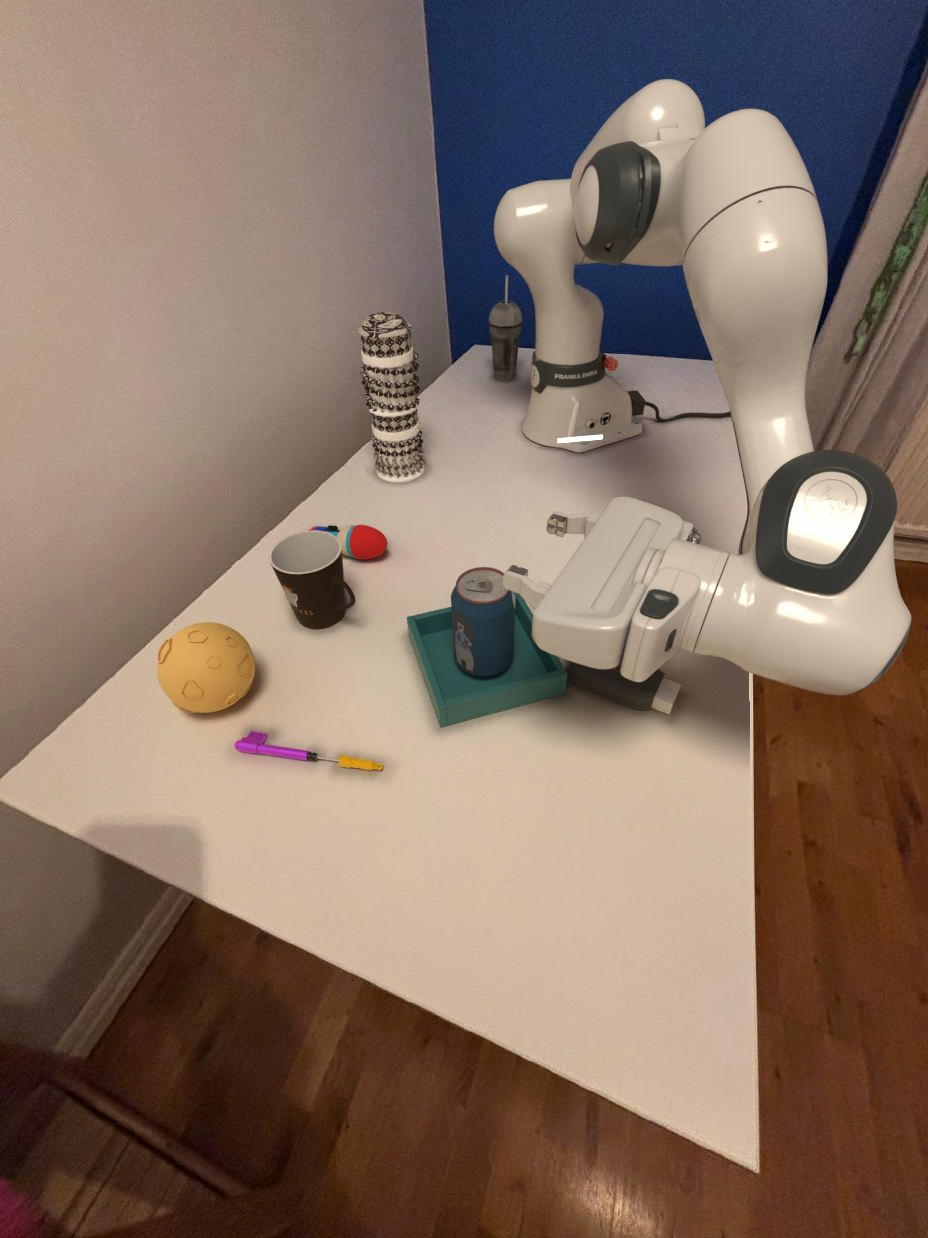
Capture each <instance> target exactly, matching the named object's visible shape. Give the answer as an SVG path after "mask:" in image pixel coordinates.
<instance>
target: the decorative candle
mask: <svg viewBox="0 0 928 1238" xmlns="http://www.w3.org/2000/svg"><path fill="white" fill-rule="evenodd" d="M412 328H413V327H412V325H411V324H410V323H409V322H407V321H406V320H405V318H404V317H403V316H402V315H401V314H400V313H396V312H390V311H384V312H383V311H382V312H375V313H371V314H369V315H367V316H366V317H365V318H364V319H363V321H362V323H361V325H360V326H358V327H357V329H356V332H357V333H358V334H359V335H360V344H361V346H362V347H361V350H360V354H361V361H362V362H363V363H362V364H361V366H360V371H359V375H361V376H362V379H361V384H362V386H363V389H364V393H363V396H364V397H365V398H366V402H365V406H366V408H367V410H368V411H369V413H371V414H370V416H371V420H372V421H371V422H372V423H371V432H372V434H371V436H370V438H371V439H372V448H373V450H374V452H373V458H374V461H375V462H374V466H375V467H376V474H377V476H378V477H379V479H381V480H383V481H385V482H390V483H407V482H411V481H414V480H416V479H418V478H420V477H421V476H422V475H423V474H424V473H425V469H426V466H425V462H424V461H425V457H424V453H425V450H424V449H423V443H424V440H423V439H422V438H423V430H422V429H421V426H420V419H419V415H418V414H419V413H418V408H419V407H420V401H421V400H420V398H419V397H417V396H416V395H418V394H419V393H420V390H421V387H420V386H419V385H418V383H419V380H420V377H419V376H418V375H417V374H416V373H415V372H417V371H418V370H419V367H420V364H419V363H418V362H416V361H417V360H418V357H419V354H418V353H417V352H416V351H414V347H413V345H412V334H411V333H412V332H411V330H412Z"/></svg>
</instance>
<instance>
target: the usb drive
mask: <svg viewBox="0 0 928 1238" xmlns="http://www.w3.org/2000/svg"><path fill="white" fill-rule="evenodd" d="M621 663H622V662H621ZM621 663H620V664H619V665H618V666H616V667H614V668H611V669H596V668H591V667H588V666H584V665H581V664H578V663H575V662H572V661H569V663H568V665H567V667H566V668H565V670H566V672H567V673H568V675H567V682H566V683H568V684H570V685H572V686H576V687H578V688H579V689H582V690H585V691H587V692H589V693H592V694H595V695H597V696H600V697H602V698H605V699H607V700H608V701H609V700H610V701H612V702H614V703H617V704H619V705H622V706H624V707H627V708H629V709H632V710H634V711H638V712H650V711H651V709H654V710H656V711H658V712H662V713H663V714H667V715H668V716H669V715H670V714H671V712H672V710H673V707H674V705H675V702H676V700H677V698H678V696H679V693H680V690H681V686H682V684H681V683H679V682H677V681H673V680H671V679H668V678H665V675H666V673H665V672H663V671H662V670H661V669H660V668H658V669H657V670H656V671H655V672H654V673H653V674H652V675H651V676H650V677H649V678H647V679H646V680H645V681H643V682H635V681H632V680H629V679H627V678H625V677H623V676H622V675H621V673H620V669H621Z"/></svg>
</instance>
